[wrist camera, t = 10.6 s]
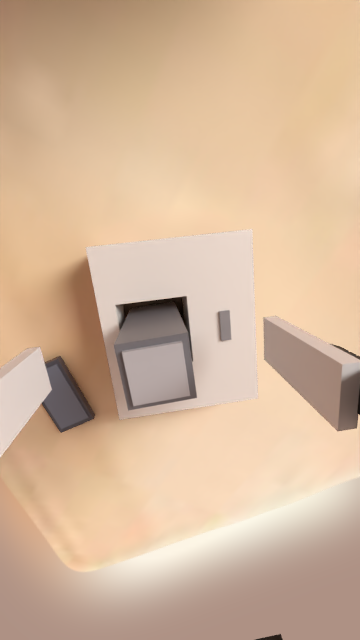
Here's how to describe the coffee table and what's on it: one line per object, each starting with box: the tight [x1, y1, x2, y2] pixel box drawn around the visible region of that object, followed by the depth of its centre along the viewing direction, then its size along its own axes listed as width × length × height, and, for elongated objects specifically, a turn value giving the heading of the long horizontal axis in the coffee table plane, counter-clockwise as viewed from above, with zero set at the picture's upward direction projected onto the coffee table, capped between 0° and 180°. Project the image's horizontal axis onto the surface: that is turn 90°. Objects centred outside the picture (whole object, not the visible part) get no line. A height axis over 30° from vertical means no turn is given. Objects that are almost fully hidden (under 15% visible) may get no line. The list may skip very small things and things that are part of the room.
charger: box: [114, 301, 197, 411], centre depth 19 cm, size 4×4×10 cm
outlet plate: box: [86, 229, 258, 420], centre depth 22 cm, size 14×12×4 cm
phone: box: [42, 356, 95, 433], centre depth 24 cm, size 7×4×1 cm, turn 23°
